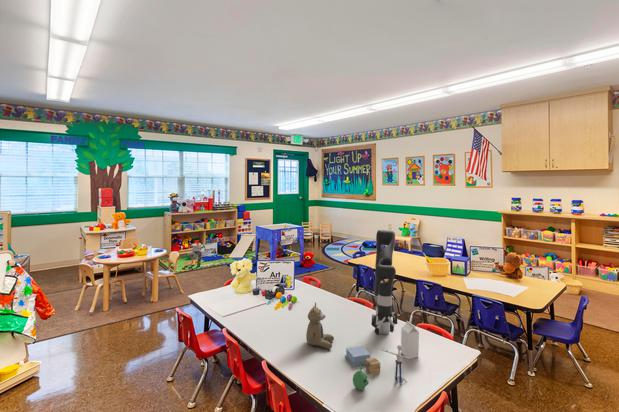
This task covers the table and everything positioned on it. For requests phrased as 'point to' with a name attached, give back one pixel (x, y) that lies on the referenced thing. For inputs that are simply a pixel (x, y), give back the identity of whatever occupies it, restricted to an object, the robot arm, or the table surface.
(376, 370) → the walnut block
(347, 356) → the pedestal
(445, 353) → the table surface
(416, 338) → the milk carton
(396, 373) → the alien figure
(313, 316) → the bear
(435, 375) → the table surface
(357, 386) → the alien toy
